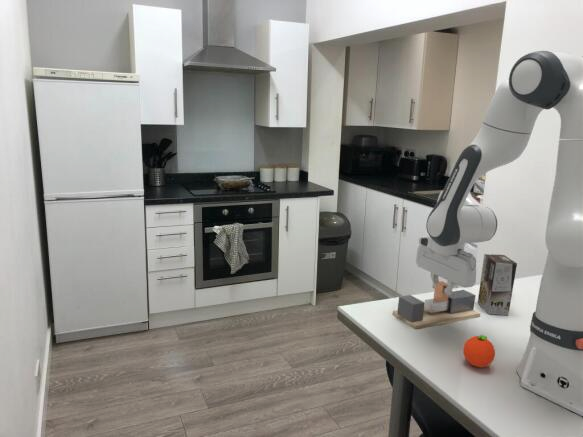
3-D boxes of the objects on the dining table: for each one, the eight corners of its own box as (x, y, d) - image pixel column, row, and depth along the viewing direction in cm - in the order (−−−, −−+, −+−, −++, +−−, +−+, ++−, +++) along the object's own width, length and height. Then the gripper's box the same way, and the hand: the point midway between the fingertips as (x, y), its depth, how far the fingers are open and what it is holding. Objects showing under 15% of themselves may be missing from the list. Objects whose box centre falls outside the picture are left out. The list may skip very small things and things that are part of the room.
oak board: (480, 316, 138) (480, 313, 138) (415, 328, 128) (416, 325, 127) (454, 303, 147) (455, 300, 147) (392, 314, 136) (392, 311, 136)
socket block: (422, 320, 131) (424, 302, 130) (411, 322, 129) (413, 304, 128) (408, 311, 136) (410, 294, 135) (397, 313, 134) (399, 296, 133)
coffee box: (509, 315, 140) (518, 263, 136) (487, 314, 140) (495, 262, 137) (497, 303, 149) (504, 254, 145) (476, 302, 149) (483, 253, 145)
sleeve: (473, 309, 140) (475, 295, 139) (450, 313, 136) (452, 298, 135) (461, 303, 144) (463, 289, 143) (439, 307, 140) (441, 293, 139)
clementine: (468, 353, 116) (472, 326, 114) (498, 363, 112) (502, 335, 110) (456, 365, 110) (460, 336, 108) (487, 376, 106) (491, 347, 104)
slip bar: (470, 306, 141) (474, 281, 139) (431, 313, 134) (434, 287, 132) (462, 302, 143) (466, 277, 141) (423, 309, 136) (427, 283, 135)
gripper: (485, 254, 125) (477, 303, 128) (431, 235, 143) (426, 278, 146) (467, 256, 122) (460, 306, 125) (415, 236, 140) (409, 280, 143)
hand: (441, 291), depth 136 cm, fingers closed on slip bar, 3 cm apart
